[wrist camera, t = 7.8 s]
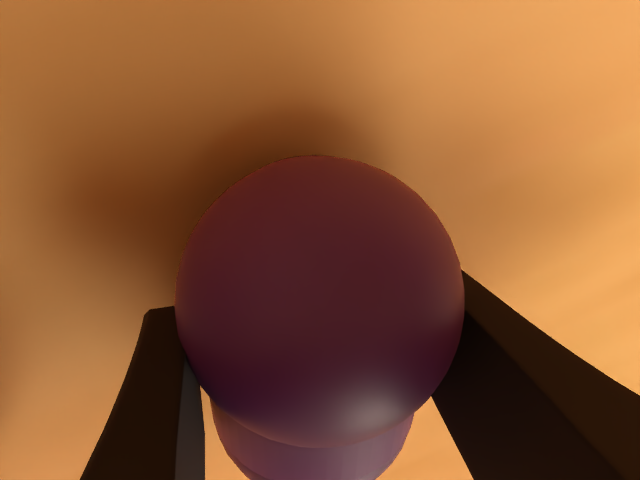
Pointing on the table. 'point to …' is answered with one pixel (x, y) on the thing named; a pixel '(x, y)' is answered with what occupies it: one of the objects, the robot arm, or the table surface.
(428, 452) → the table surface
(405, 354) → the eggplant
